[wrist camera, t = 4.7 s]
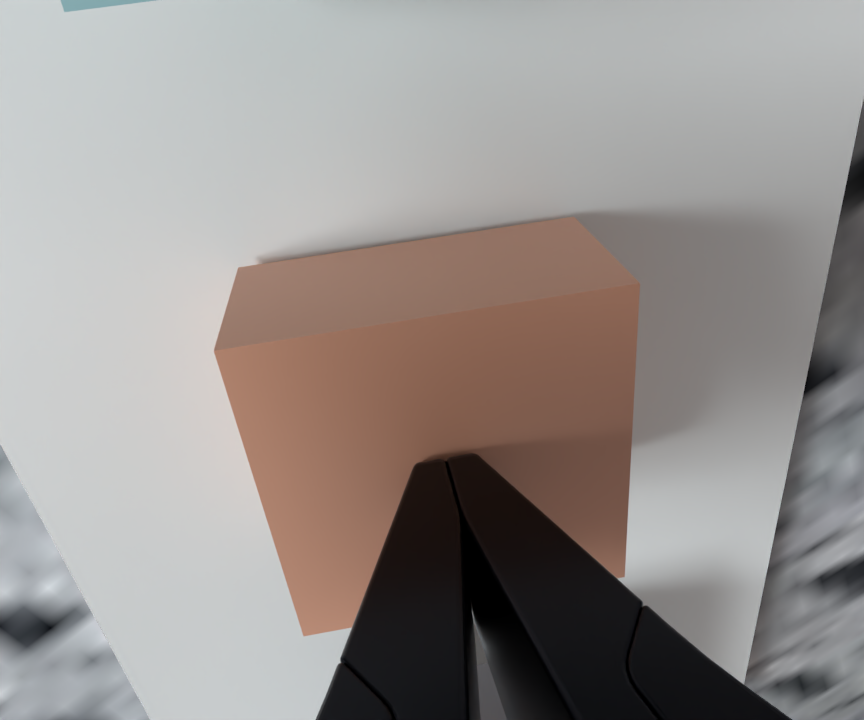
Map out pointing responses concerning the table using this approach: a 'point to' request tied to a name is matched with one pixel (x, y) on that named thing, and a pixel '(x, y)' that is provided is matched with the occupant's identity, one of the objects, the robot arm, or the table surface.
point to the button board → (389, 224)
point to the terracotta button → (431, 391)
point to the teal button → (94, 4)
